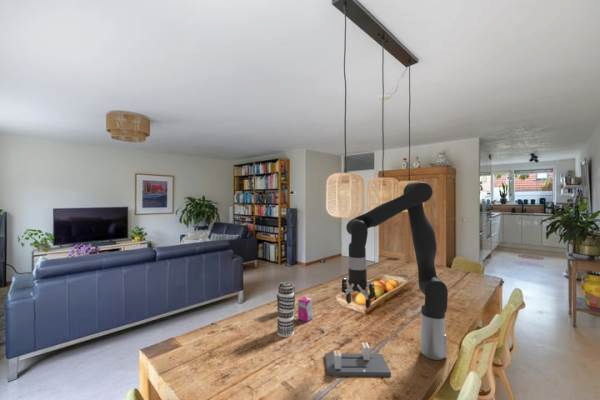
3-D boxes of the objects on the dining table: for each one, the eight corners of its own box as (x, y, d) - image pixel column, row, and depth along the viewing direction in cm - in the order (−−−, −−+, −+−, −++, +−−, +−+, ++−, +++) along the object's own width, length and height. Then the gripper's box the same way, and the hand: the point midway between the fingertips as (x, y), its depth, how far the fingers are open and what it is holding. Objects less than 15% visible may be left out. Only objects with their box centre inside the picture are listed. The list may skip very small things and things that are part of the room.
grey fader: (339, 362, 106) (339, 349, 106) (341, 369, 102) (341, 355, 102) (333, 362, 106) (333, 349, 106) (334, 369, 102) (334, 355, 102)
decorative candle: (273, 335, 131) (273, 284, 131) (281, 327, 139) (281, 279, 139) (290, 339, 128) (291, 286, 128) (297, 330, 136) (297, 281, 136)
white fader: (367, 354, 112) (367, 342, 112) (369, 360, 108) (369, 347, 108) (361, 354, 112) (361, 342, 112) (363, 360, 108) (363, 347, 108)
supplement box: (304, 316, 153) (304, 296, 153) (312, 319, 149) (312, 298, 149) (297, 319, 148) (297, 299, 148) (306, 322, 144) (306, 301, 144)
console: (381, 357, 113) (381, 353, 113) (391, 376, 101) (391, 372, 101) (325, 356, 113) (325, 353, 113) (327, 375, 101) (327, 371, 101)
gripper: (377, 267, 111) (377, 306, 111) (346, 262, 120) (347, 298, 120) (369, 271, 105) (370, 312, 105) (338, 266, 114) (338, 304, 114)
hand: (358, 305), depth 113 cm, fingers open, 8 cm apart
